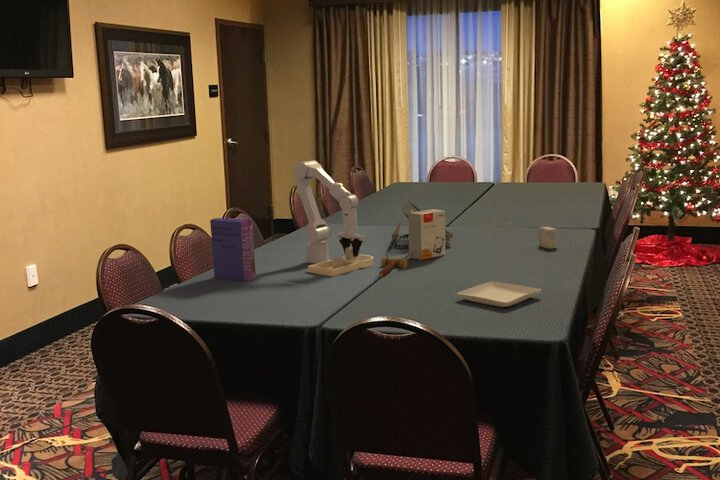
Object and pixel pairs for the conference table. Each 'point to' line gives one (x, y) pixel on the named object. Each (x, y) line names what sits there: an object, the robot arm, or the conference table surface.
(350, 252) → the stone
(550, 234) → the medicine box
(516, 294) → the salad plate
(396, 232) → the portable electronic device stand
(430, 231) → the hard drive box
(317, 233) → the robot arm
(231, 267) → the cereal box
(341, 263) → the stone
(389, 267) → the gavel
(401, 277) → the conference table surface
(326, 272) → the tray
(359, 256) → the bowl
